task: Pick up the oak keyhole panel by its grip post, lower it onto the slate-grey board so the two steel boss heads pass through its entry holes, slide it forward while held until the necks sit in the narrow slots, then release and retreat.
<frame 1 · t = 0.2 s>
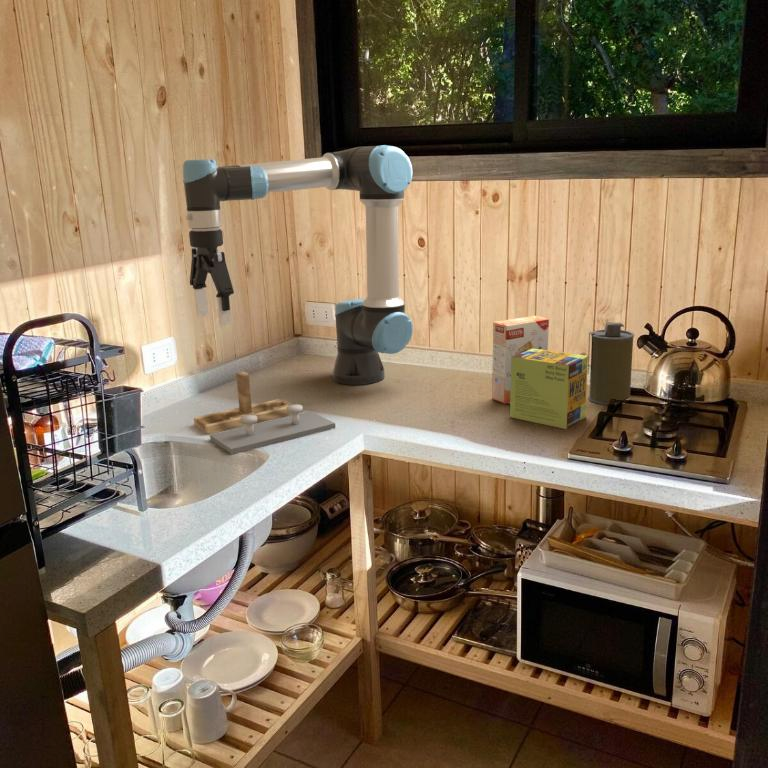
hand: (213, 319, 189), 26 cm above the countertop, fingers open, 13 cm apart
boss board: (273, 433, 189), on the countertop
protein box: (547, 418, 194), on the countertop
canister: (608, 400, 206), on the countertop
oak panel: (237, 421, 199), on the countertop
cracker box: (519, 398, 210), on the countertop
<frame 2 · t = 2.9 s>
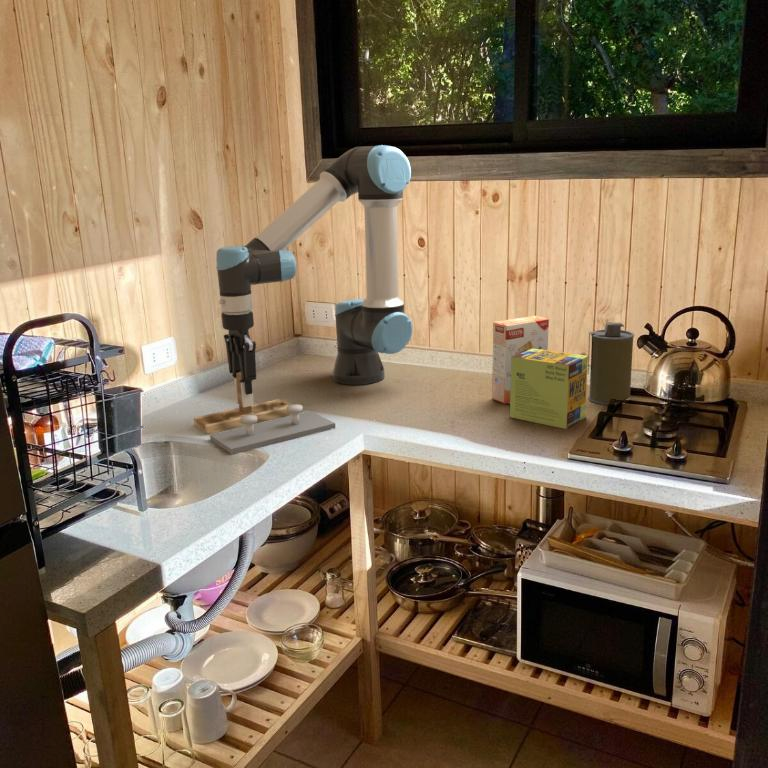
hand: (245, 404, 199), 4 cm above the countertop, fingers closed on oak panel, 3 cm apart
oak panel: (237, 421, 199), on the countertop, touching gripper
everything else where it was.
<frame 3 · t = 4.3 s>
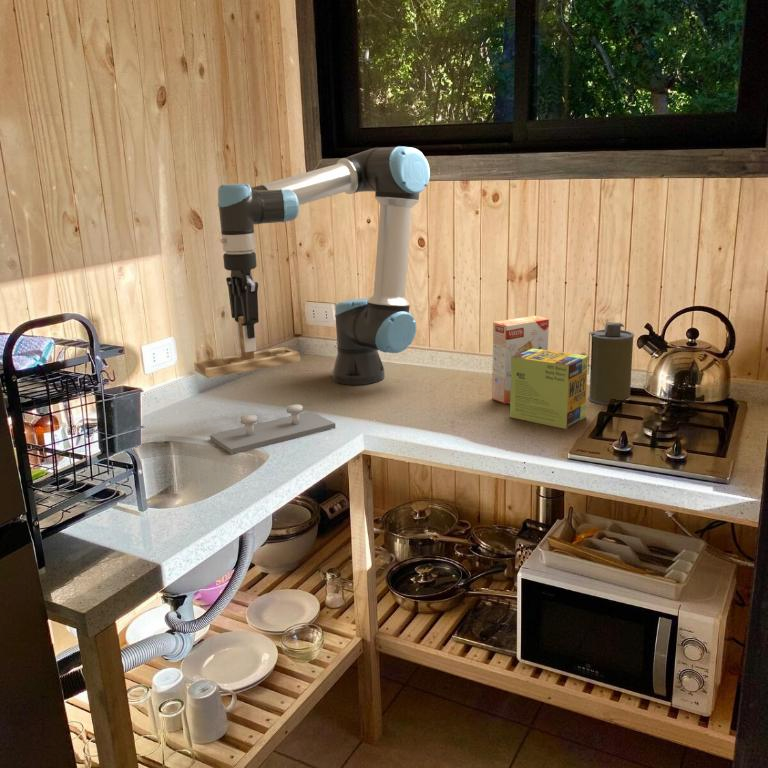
hand: (247, 349, 193), 19 cm above the countertop, fingers closed on oak panel, 3 cm apart
oak panel: (239, 367, 193), point 15 cm above the countertop, touching gripper
everything else where it was.
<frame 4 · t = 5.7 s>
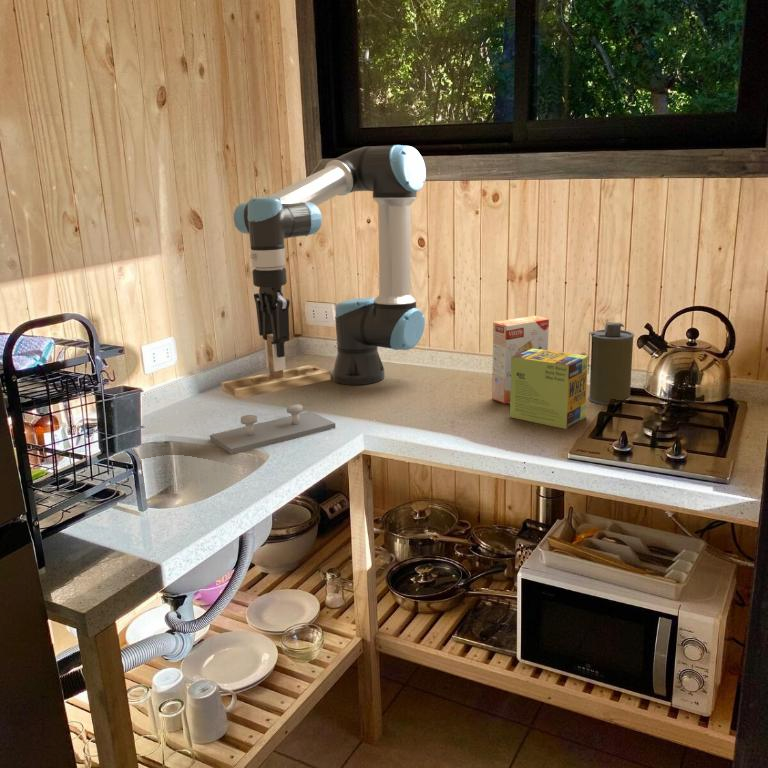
hand: (276, 368, 186), 16 cm above the countertop, fingers closed on oak panel, 3 cm apart
oak panel: (267, 386, 186), point 12 cm above the countertop, touching gripper
everything else where it was.
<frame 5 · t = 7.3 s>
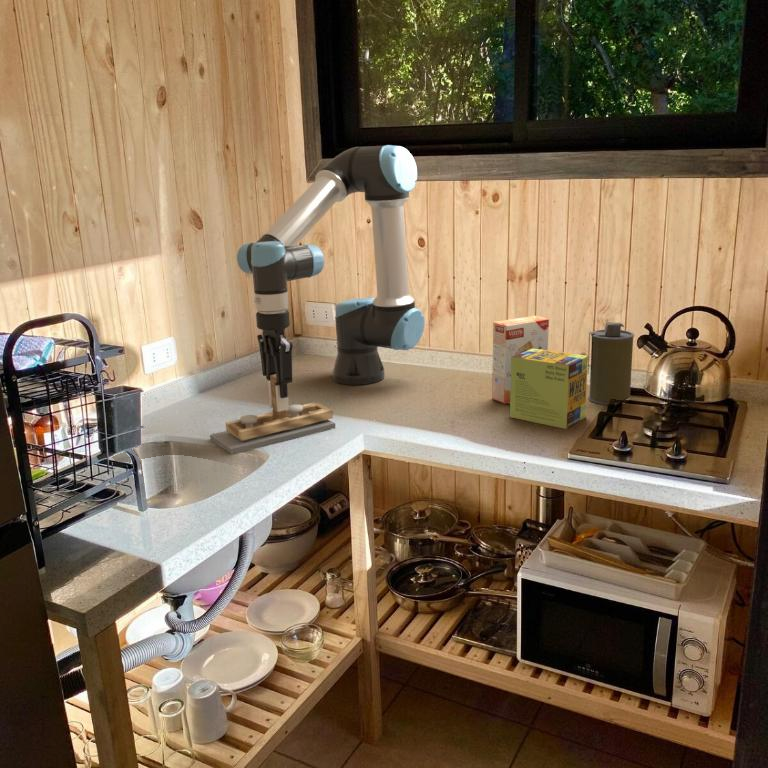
hand: (279, 408, 189), 6 cm above the countertop, fingers closed on oak panel, 3 cm apart
oak panel: (271, 426, 189), point 2 cm above the countertop, touching gripper
everything else where it was.
when the fingers open (6 cm above the countertop, at t = 8.7 s): oak panel stays where it is, resting on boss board.
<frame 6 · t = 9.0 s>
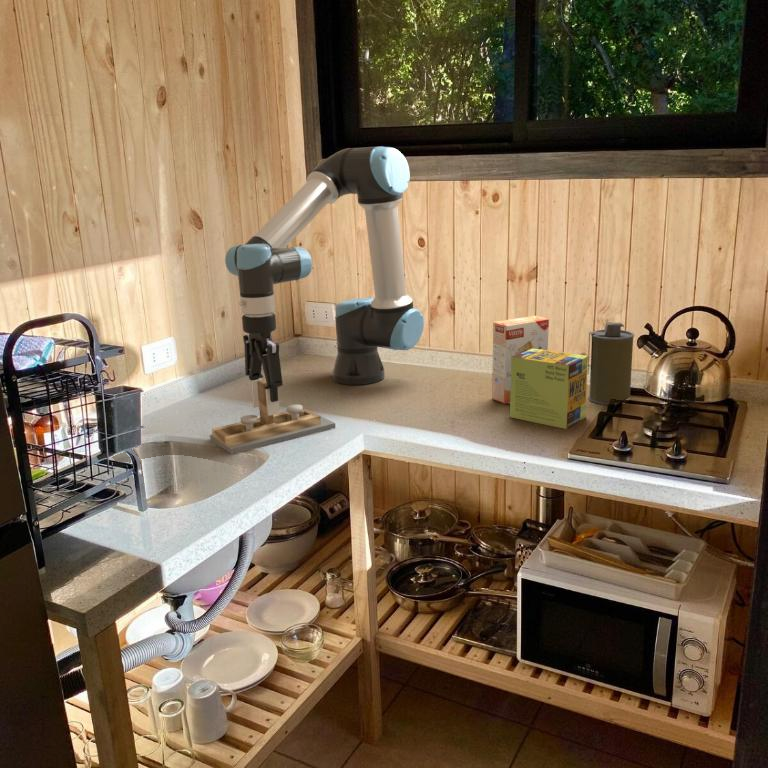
hand: (266, 410, 187), 6 cm above the countertop, fingers open, 7 cm apart
oak panel: (258, 432, 187), point 1 cm above the countertop, touching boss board
everything else where it was.
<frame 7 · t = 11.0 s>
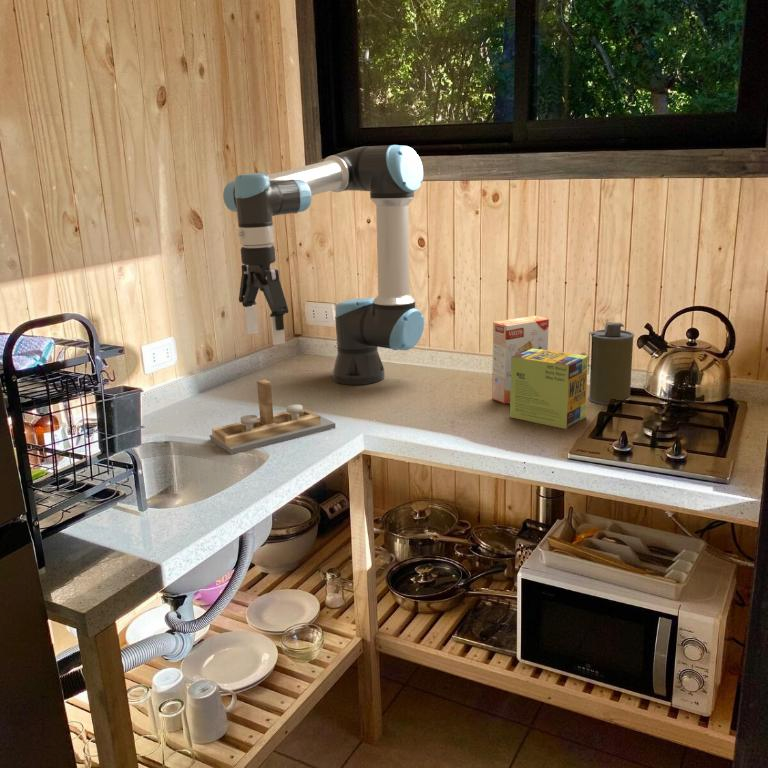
hand: (265, 338, 183), 23 cm above the countertop, fingers open, 13 cm apart
nothing on the countertop moved.
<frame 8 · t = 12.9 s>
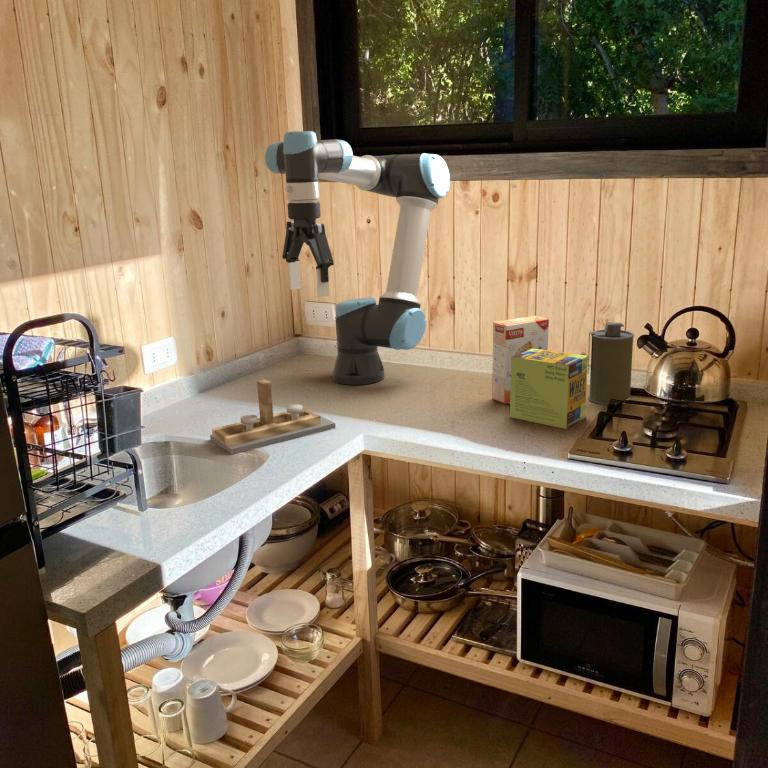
hand: (309, 292, 190), 32 cm above the countertop, fingers open, 13 cm apart
nothing on the countertop moved.
at the end: oak panel 1.0 cm from the target spot on the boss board, point 1.2 cm above the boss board's base; oak panel tilted 0°; the gripper is holding nothing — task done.
